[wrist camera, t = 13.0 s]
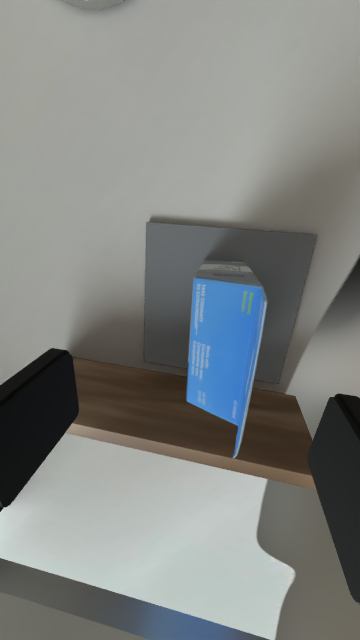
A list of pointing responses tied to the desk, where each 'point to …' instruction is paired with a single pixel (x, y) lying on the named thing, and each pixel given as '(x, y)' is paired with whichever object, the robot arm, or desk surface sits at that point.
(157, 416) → the walnut screen
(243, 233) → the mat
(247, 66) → the desk surface
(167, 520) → the desk surface
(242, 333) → the label tape box
